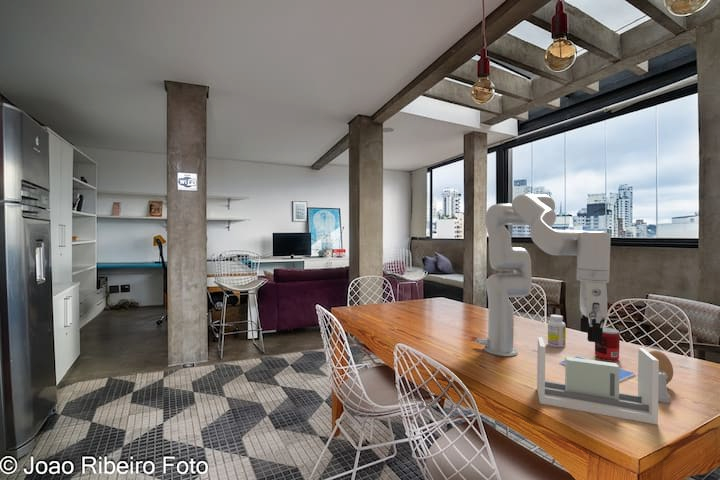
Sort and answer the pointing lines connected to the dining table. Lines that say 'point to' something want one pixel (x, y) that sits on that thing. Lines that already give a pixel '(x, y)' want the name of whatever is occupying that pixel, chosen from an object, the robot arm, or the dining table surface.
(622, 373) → the tablet computer
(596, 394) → the door panel
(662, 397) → the rook chess piece
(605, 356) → the canned food
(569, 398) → the cabinet base
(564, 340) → the supplement bottle
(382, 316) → the dining table surface
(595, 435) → the dining table surface
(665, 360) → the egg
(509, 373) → the dining table surface
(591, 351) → the dining table surface
